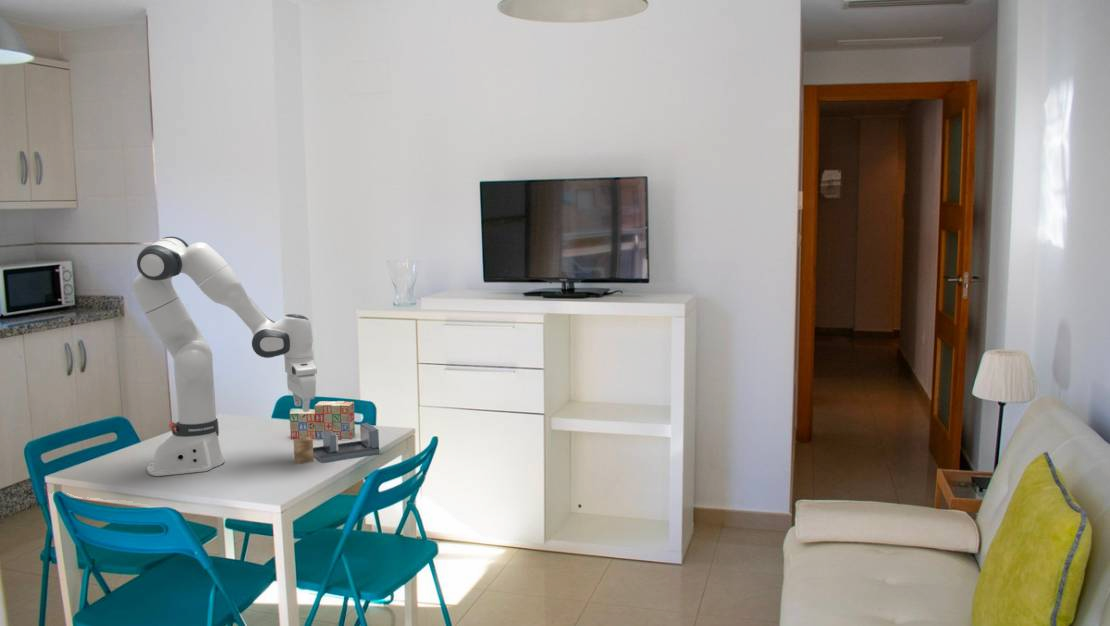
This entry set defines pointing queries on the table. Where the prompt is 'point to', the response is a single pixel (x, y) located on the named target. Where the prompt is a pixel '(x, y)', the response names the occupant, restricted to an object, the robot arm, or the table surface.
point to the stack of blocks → (324, 420)
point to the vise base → (352, 446)
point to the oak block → (303, 450)
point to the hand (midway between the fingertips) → (301, 408)
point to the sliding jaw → (330, 441)
